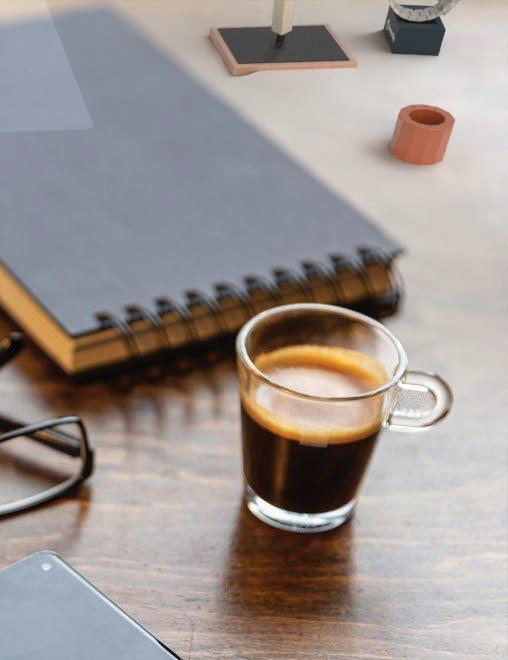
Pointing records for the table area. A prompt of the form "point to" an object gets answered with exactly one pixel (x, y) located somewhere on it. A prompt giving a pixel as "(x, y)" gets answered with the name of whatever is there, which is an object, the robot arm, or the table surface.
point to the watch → (416, 27)
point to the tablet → (280, 48)
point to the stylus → (282, 17)
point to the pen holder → (421, 134)
